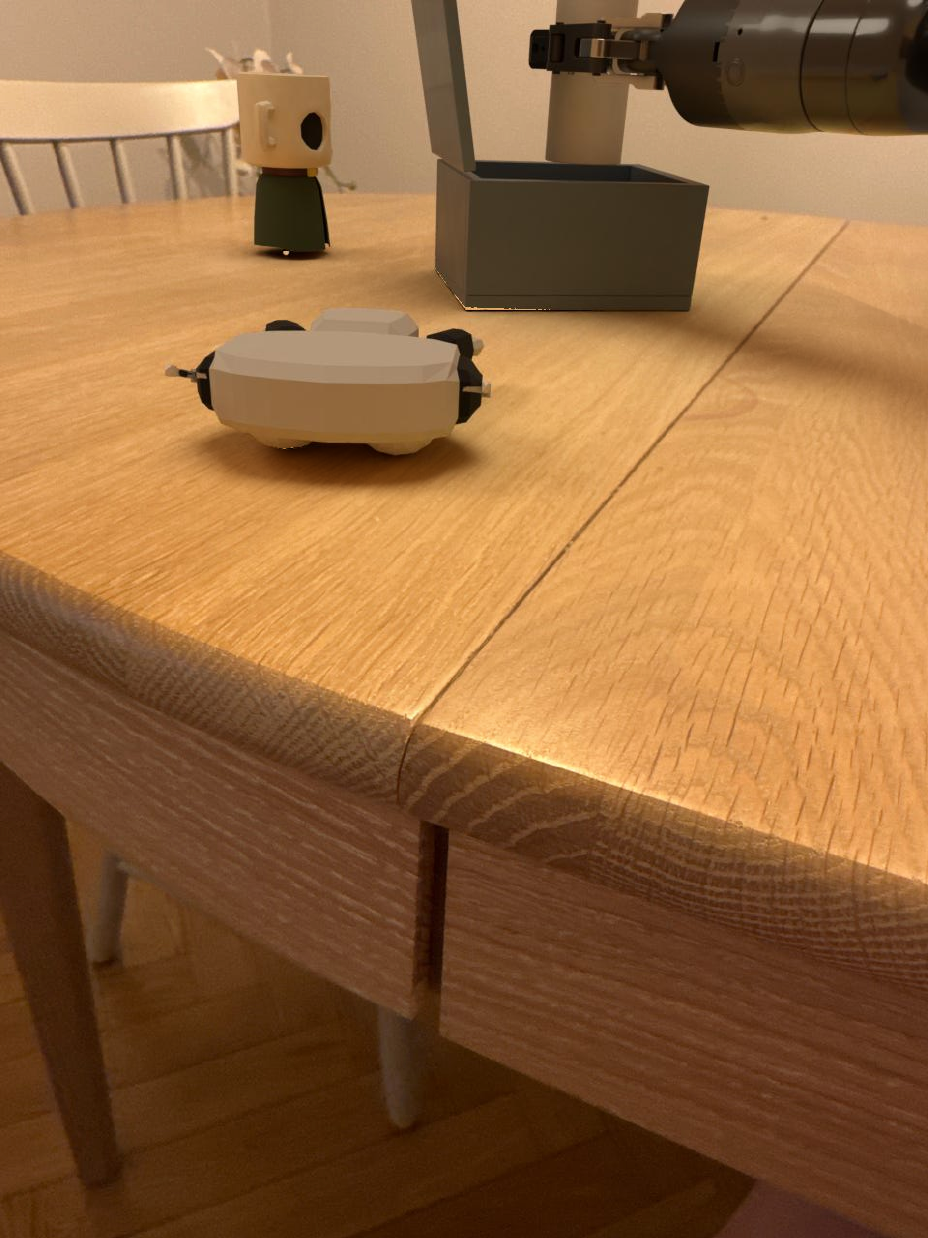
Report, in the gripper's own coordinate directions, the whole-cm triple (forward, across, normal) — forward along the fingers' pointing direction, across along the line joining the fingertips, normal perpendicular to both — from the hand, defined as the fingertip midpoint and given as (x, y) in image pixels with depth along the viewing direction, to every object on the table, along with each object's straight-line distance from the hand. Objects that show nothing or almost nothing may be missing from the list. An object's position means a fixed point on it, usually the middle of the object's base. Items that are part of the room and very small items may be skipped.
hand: (566, 51), depth 63 cm
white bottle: (-3, 0, +6) cm, 7 cm away
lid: (+3, +8, -2) cm, 9 cm away
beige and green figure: (+20, +11, +15) cm, 27 cm away
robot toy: (-19, +28, +16) cm, 38 cm away
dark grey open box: (-1, 0, +15) cm, 15 cm away
